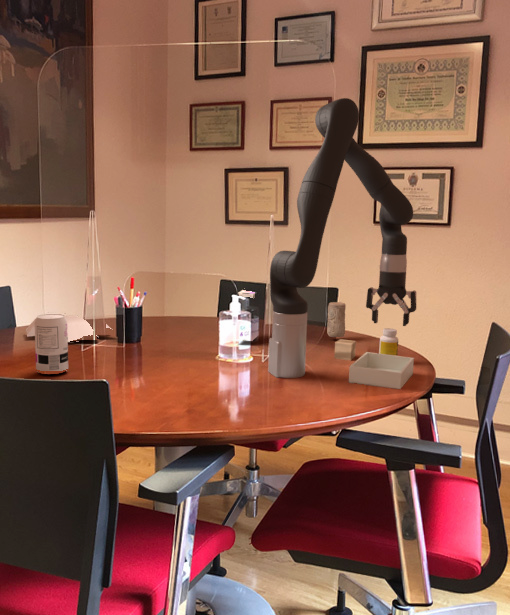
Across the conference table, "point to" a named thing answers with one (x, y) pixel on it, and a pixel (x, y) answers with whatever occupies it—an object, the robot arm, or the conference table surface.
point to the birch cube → (345, 349)
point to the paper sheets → (70, 328)
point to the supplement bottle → (389, 342)
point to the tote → (381, 370)
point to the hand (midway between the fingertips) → (389, 324)
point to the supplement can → (51, 342)
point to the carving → (336, 319)
